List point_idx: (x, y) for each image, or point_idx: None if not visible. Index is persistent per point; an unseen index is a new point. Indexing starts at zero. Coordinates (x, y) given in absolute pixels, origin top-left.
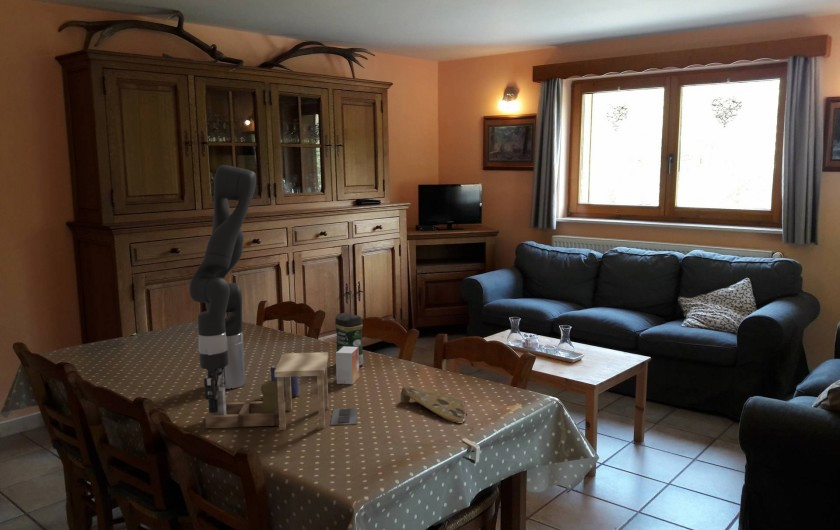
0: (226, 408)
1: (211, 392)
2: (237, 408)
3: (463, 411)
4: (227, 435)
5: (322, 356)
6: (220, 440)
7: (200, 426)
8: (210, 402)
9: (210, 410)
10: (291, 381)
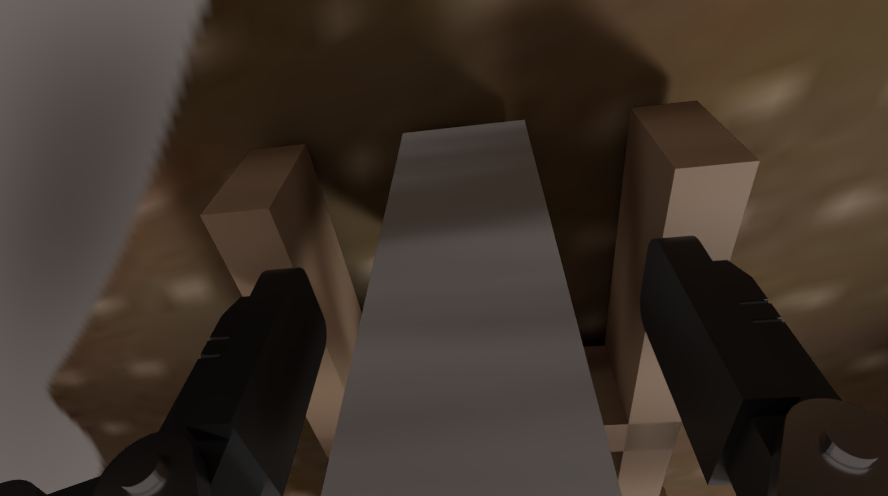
0: (635, 269)
1: None
2: (624, 345)
3: None
4: (208, 322)
5: None
6: (110, 306)
7: (334, 41)
8: (179, 418)
9: (232, 310)
10: None
